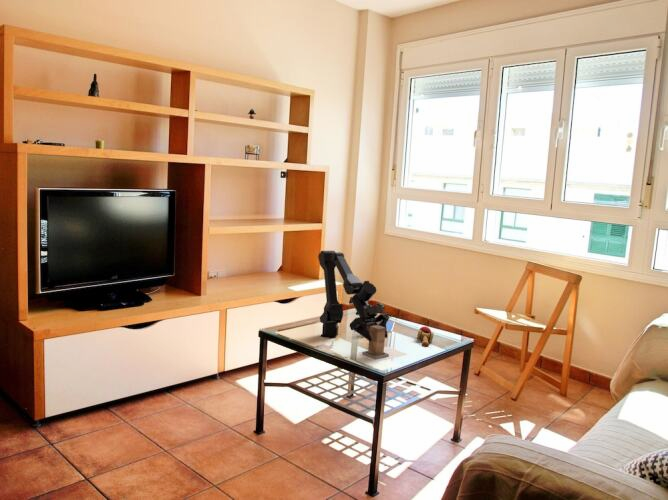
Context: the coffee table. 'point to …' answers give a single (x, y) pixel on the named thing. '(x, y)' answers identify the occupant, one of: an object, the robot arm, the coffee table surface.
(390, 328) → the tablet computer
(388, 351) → the plate
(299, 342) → the coffee table surface
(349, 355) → the coffee table surface
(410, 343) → the coffee table surface
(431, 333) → the kendama
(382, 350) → the pillar
